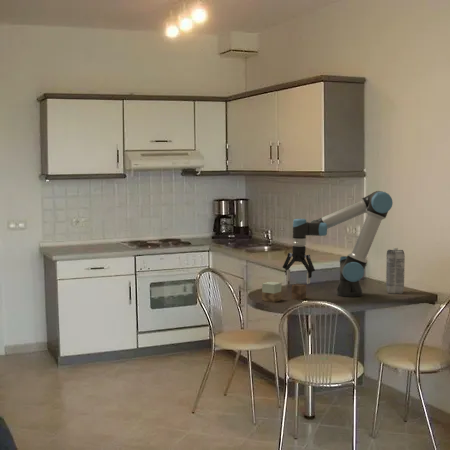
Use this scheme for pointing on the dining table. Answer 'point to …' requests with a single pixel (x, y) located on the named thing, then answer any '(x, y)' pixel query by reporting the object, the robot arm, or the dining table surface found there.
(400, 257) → the juice carton
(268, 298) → the tower base
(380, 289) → the dining table surface
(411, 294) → the dining table surface
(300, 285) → the block
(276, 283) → the tower top
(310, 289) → the dining table surface
